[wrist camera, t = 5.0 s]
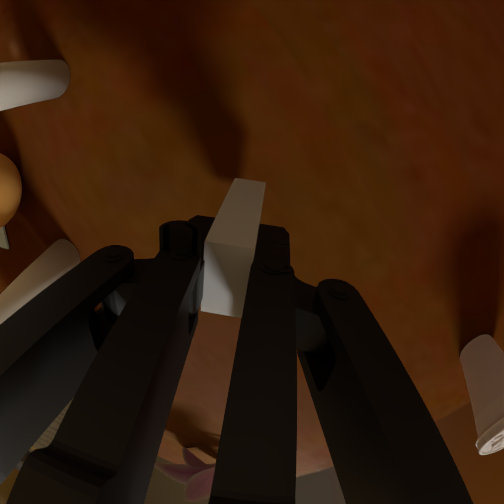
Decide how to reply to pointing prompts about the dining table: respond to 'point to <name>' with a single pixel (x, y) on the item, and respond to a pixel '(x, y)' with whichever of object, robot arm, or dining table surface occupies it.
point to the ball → (9, 189)
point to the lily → (191, 476)
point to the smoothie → (486, 390)
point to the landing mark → (3, 238)
